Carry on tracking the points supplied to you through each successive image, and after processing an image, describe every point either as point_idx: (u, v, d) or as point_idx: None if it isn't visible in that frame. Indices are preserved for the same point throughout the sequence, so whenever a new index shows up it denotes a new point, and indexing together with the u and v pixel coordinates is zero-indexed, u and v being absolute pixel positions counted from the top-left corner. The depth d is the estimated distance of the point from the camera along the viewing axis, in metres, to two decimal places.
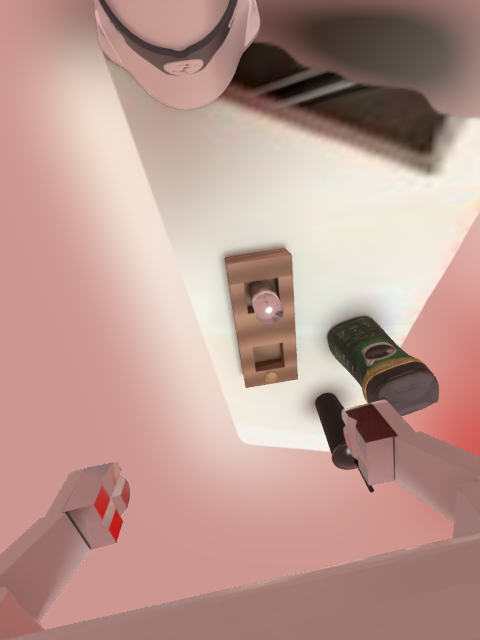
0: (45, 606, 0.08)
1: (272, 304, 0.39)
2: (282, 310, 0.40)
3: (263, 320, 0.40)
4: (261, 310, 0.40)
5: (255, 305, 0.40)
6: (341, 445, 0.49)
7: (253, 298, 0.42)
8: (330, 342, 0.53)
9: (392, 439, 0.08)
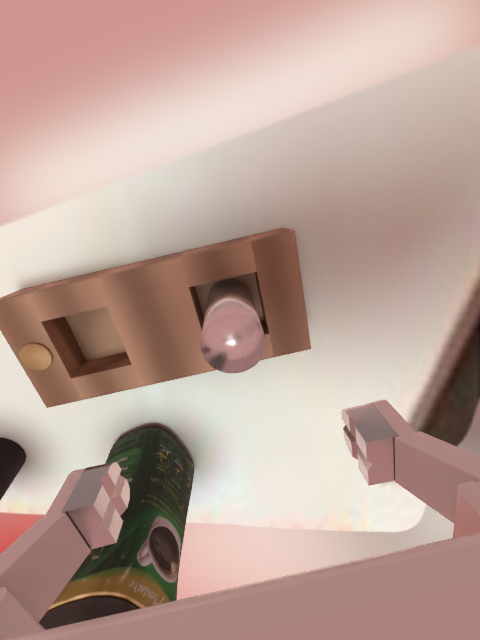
0: (45, 606, 0.08)
1: (252, 347, 0.17)
2: (238, 370, 0.18)
3: (210, 334, 0.17)
4: (235, 327, 0.17)
5: (239, 308, 0.18)
6: None
7: (239, 297, 0.20)
8: (141, 435, 0.30)
9: (392, 439, 0.08)
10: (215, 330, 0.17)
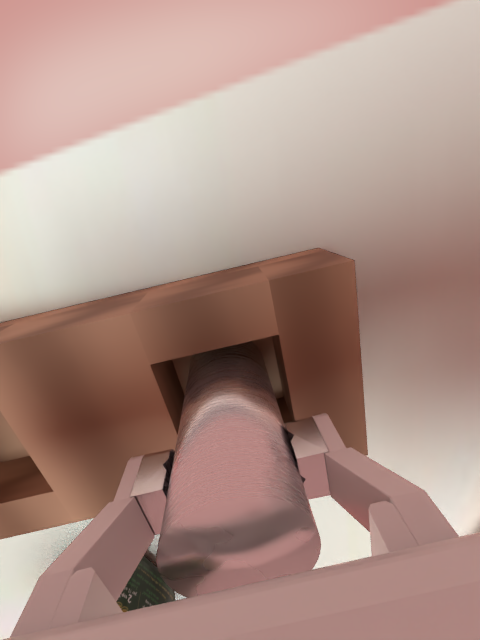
0: (119, 589, 0.08)
1: (287, 558, 0.07)
2: None
3: (182, 542, 0.07)
4: (247, 524, 0.06)
5: (254, 458, 0.07)
6: None
7: (248, 401, 0.09)
8: None
9: (323, 455, 0.08)
10: (194, 533, 0.06)
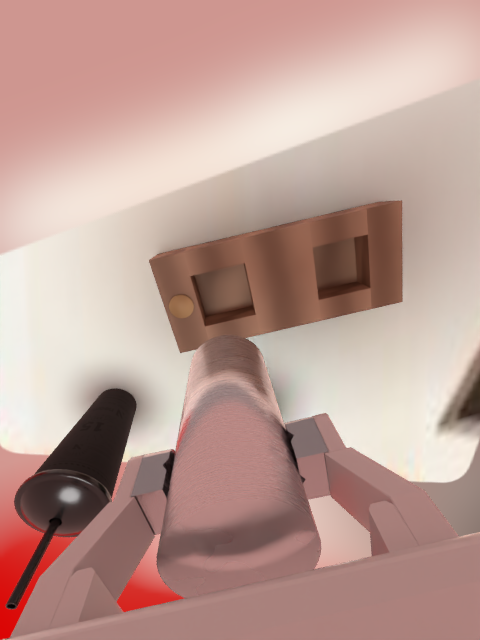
0: (119, 589, 0.08)
1: (288, 560, 0.07)
2: None
3: (182, 543, 0.07)
4: (247, 527, 0.06)
5: (254, 460, 0.07)
6: (87, 479, 0.23)
7: (249, 402, 0.09)
8: None
9: (323, 455, 0.08)
10: (194, 535, 0.06)
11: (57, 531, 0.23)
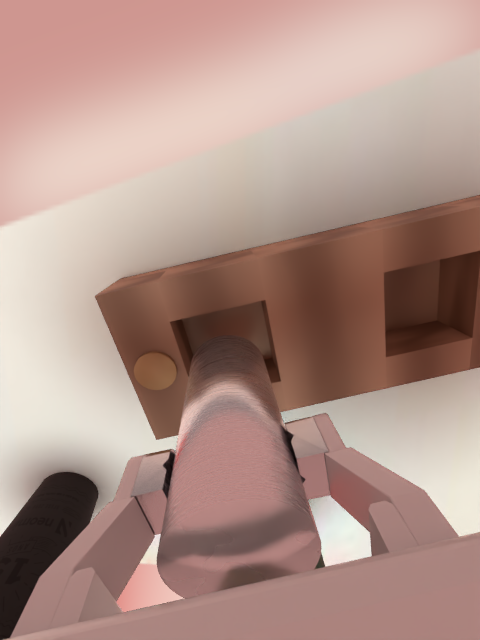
0: (119, 589, 0.08)
1: (288, 561, 0.07)
2: None
3: (182, 544, 0.07)
4: (247, 527, 0.06)
5: (255, 460, 0.07)
6: None
7: (249, 403, 0.09)
8: None
9: (323, 455, 0.08)
10: (194, 535, 0.06)
11: None
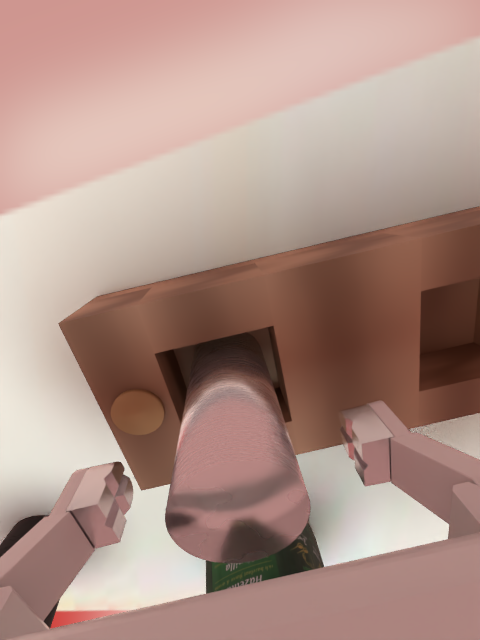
0: (49, 605, 0.08)
1: (281, 519, 0.08)
2: (250, 557, 0.08)
3: (188, 501, 0.07)
4: (244, 486, 0.07)
5: (251, 431, 0.08)
6: None
7: (247, 385, 0.10)
8: None
9: (388, 440, 0.08)
10: (198, 493, 0.07)
11: None
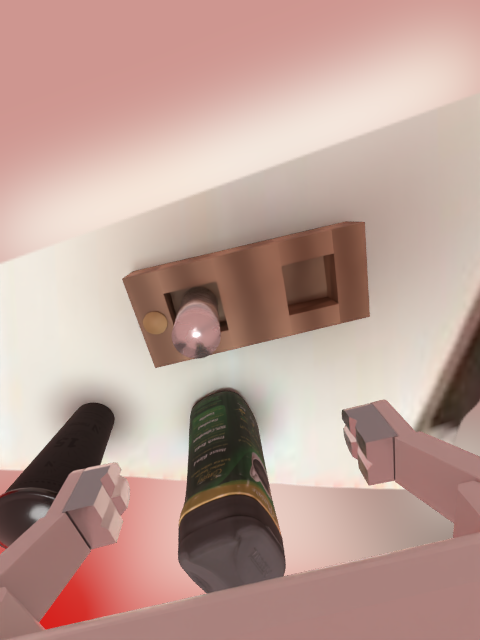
0: (45, 606, 0.08)
1: (211, 338, 0.23)
2: (201, 356, 0.24)
3: (179, 329, 0.23)
4: (197, 323, 0.23)
5: (201, 310, 0.24)
6: None
7: (203, 302, 0.26)
8: (220, 397, 0.35)
9: (392, 439, 0.08)
10: (182, 326, 0.23)
11: None
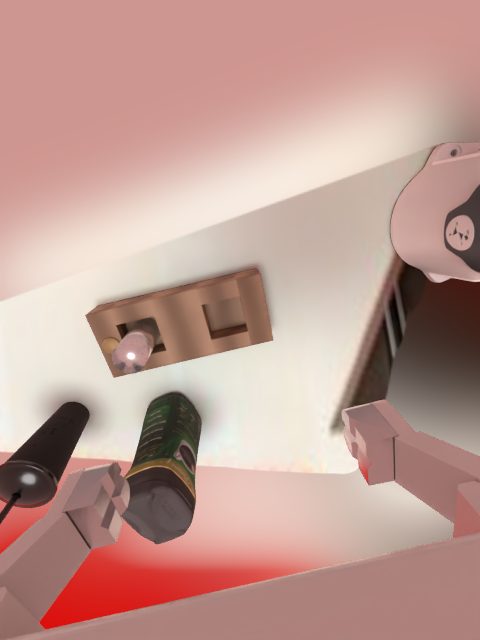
0: (45, 606, 0.08)
1: (139, 360, 0.34)
2: (133, 372, 0.34)
3: (116, 353, 0.33)
4: (129, 350, 0.33)
5: (133, 340, 0.34)
6: (38, 467, 0.34)
7: (139, 332, 0.36)
8: (168, 398, 0.46)
9: (392, 439, 0.08)
10: (118, 351, 0.33)
11: (18, 502, 0.35)
